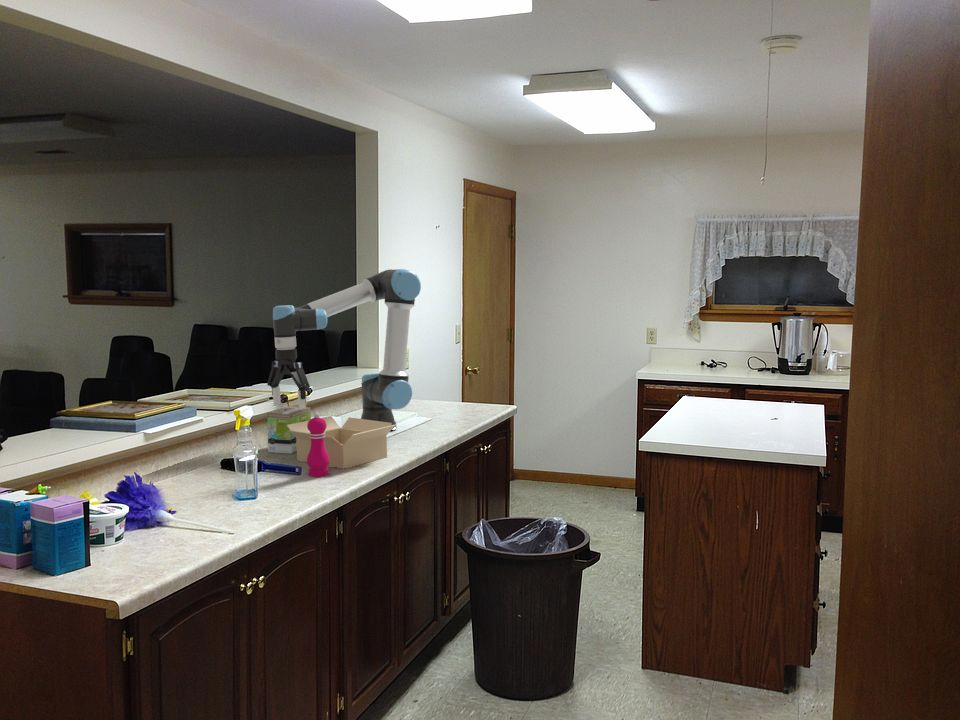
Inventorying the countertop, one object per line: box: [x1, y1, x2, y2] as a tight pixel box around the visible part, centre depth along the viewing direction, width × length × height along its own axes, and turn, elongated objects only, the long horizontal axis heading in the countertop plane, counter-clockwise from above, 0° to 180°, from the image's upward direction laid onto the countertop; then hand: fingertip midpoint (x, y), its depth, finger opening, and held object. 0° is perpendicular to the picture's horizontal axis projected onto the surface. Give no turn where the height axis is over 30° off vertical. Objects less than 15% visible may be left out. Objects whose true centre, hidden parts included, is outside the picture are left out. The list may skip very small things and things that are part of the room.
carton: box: [287, 415, 397, 470], centre depth 288 cm, size 28×32×12 cm
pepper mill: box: [306, 412, 330, 478], centre depth 266 cm, size 7×7×20 cm
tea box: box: [266, 406, 312, 455], centre depth 306 cm, size 15×10×15 cm
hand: (289, 406), depth 305 cm, fingers open, 13 cm apart
